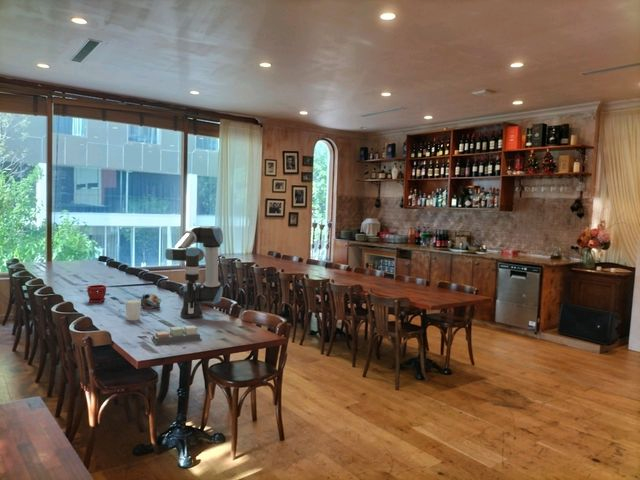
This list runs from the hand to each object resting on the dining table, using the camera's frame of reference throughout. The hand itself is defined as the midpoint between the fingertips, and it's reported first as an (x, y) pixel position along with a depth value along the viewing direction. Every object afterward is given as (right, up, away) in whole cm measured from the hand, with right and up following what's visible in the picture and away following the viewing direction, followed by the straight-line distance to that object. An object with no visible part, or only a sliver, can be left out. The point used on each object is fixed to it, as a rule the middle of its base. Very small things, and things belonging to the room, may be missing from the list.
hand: (190, 313), depth 288 cm
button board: (-8, -15, -3) cm, 17 cm away
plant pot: (-96, -5, +89) cm, 131 cm away
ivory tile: (-1, -12, +1) cm, 12 cm away
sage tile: (-7, -12, -3) cm, 15 cm away
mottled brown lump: (-50, -8, +76) cm, 91 cm away
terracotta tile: (-14, -14, -7) cm, 21 cm away
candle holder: (-50, -10, +41) cm, 65 cm away
